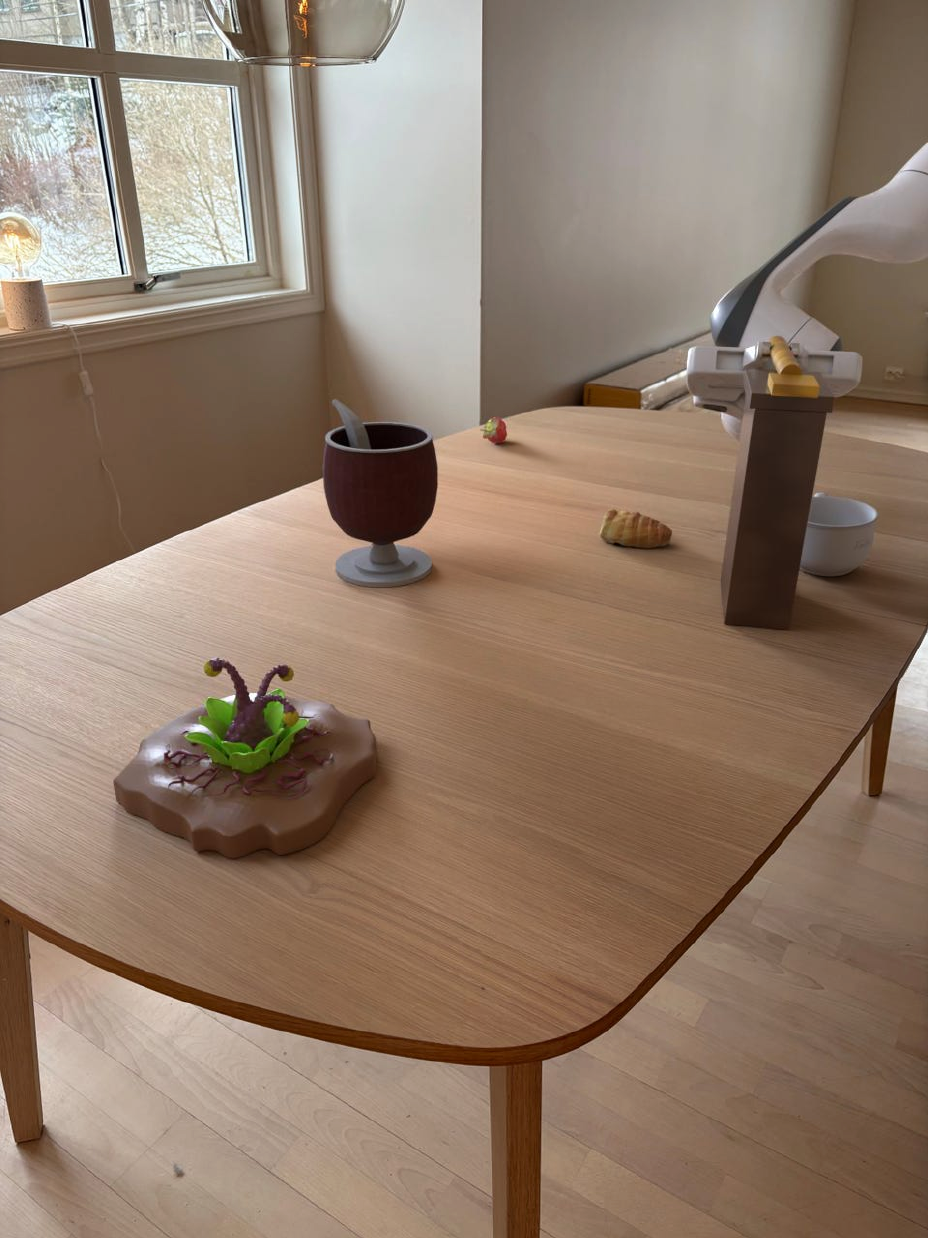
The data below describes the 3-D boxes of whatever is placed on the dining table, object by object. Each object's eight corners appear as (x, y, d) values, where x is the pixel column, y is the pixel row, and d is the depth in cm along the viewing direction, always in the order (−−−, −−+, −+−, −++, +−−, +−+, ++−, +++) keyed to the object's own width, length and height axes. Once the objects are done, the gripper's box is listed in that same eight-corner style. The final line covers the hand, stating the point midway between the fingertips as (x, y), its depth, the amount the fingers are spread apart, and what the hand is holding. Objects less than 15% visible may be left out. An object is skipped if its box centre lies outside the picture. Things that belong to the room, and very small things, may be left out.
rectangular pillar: (783, 586, 116) (819, 371, 105) (793, 630, 106) (835, 396, 94) (716, 581, 118) (744, 368, 106) (719, 624, 107) (751, 392, 95)
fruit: (516, 440, 173) (517, 413, 171) (495, 447, 169) (496, 420, 167) (498, 436, 176) (498, 409, 173) (477, 443, 172) (477, 416, 169)
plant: (225, 697, 92) (212, 592, 87) (406, 741, 86) (403, 630, 81) (77, 817, 76) (50, 696, 71) (287, 882, 69) (274, 754, 64)
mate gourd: (461, 567, 121) (461, 411, 112) (376, 600, 112) (369, 433, 103) (382, 535, 131) (377, 390, 122) (299, 563, 122) (287, 408, 113)
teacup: (866, 590, 115) (879, 528, 112) (773, 577, 119) (783, 516, 115) (865, 549, 127) (877, 492, 124) (781, 538, 130) (790, 482, 127)
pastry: (674, 536, 131) (677, 510, 129) (665, 554, 125) (668, 527, 124) (607, 527, 134) (609, 501, 132) (595, 544, 128) (597, 518, 127)
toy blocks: (794, 355, 113) (797, 336, 112) (817, 398, 93) (821, 375, 92) (755, 353, 114) (758, 334, 113) (771, 395, 94) (774, 373, 93)
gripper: (846, 414, 120) (874, 380, 106) (681, 406, 123) (687, 371, 110) (851, 365, 120) (879, 324, 107) (685, 358, 124) (692, 318, 110)
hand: (780, 348), depth 108 cm, fingers closed on toy blocks, 2 cm apart
